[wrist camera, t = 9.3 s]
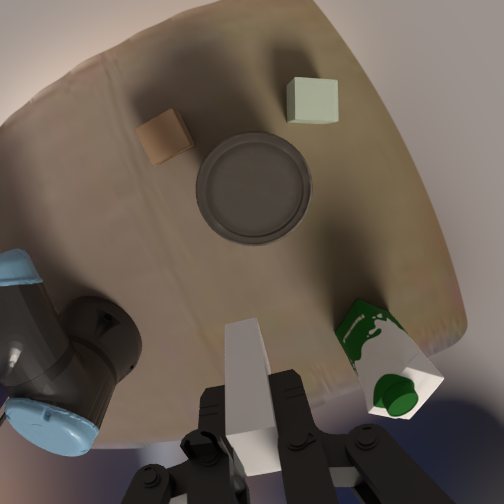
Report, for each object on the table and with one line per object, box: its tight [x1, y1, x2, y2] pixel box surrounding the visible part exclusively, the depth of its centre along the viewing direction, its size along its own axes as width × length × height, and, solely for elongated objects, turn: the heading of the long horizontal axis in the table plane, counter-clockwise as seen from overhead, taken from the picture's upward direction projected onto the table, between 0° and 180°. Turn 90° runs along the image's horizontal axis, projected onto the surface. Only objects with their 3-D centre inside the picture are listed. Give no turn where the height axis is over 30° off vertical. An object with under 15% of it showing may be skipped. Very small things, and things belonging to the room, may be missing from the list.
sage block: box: [287, 77, 338, 124], centre depth 35 cm, size 5×5×6 cm
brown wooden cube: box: [135, 108, 195, 166], centre depth 36 cm, size 5×5×5 cm
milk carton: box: [335, 298, 444, 419], centre depth 40 cm, size 9×9×20 cm
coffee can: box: [196, 131, 313, 246], centre depth 34 cm, size 10×10×14 cm
